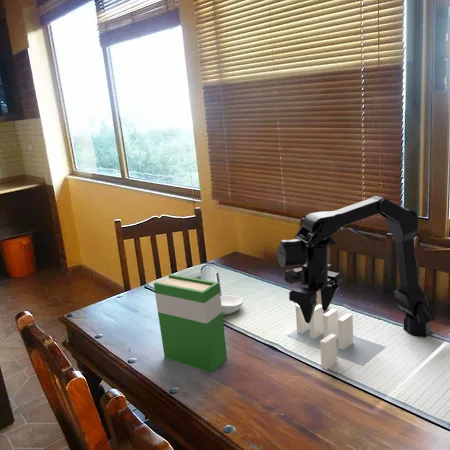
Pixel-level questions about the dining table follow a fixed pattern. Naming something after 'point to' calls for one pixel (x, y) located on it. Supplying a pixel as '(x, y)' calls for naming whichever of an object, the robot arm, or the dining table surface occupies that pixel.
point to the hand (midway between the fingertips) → (316, 316)
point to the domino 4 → (328, 351)
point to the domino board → (355, 352)
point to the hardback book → (191, 321)
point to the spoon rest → (230, 304)
